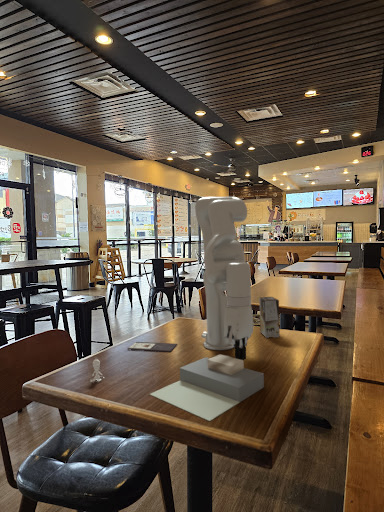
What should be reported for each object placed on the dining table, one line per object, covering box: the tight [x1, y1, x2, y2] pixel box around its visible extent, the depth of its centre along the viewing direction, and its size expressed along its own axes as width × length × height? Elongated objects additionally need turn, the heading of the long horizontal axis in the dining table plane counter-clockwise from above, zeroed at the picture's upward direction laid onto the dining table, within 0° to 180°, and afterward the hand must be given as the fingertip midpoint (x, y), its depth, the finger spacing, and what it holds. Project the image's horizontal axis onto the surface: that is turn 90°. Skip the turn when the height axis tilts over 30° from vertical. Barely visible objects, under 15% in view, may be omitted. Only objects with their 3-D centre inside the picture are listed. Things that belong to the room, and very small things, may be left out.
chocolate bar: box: [127, 341, 178, 353], centre depth 139 cm, size 9×1×18 cm
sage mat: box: [149, 379, 239, 422], centre depth 93 cm, size 22×12×1 cm, turn 47°
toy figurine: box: [89, 356, 105, 383], centre depth 106 cm, size 5×8×7 cm, turn 175°
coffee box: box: [258, 296, 281, 339], centre depth 150 cm, size 9×6×16 cm
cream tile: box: [207, 353, 245, 375], centre depth 103 cm, size 9×6×2 cm, turn 47°
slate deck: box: [179, 357, 265, 404], centre depth 102 cm, size 22×12×4 cm, turn 47°
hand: (240, 358), depth 109 cm, fingers closed
